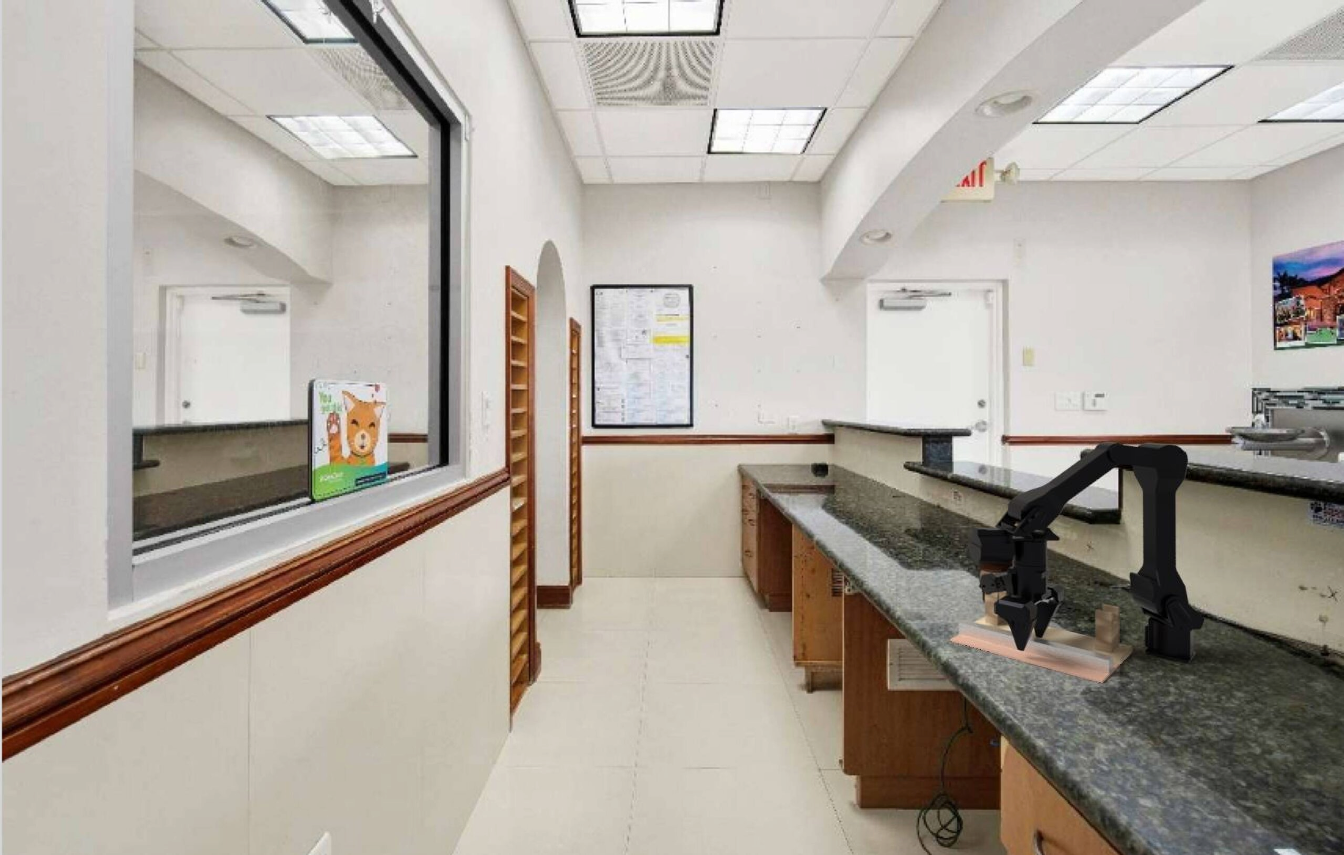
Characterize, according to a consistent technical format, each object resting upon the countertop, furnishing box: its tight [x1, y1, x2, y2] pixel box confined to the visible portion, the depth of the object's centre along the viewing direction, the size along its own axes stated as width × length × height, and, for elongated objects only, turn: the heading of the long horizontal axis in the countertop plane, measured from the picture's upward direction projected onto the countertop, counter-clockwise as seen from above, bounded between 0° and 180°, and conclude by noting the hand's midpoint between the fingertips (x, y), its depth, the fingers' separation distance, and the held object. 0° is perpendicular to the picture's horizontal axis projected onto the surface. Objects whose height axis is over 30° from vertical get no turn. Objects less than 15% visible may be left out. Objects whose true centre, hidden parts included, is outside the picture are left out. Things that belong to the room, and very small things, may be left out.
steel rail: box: [958, 619, 1113, 674], centre depth 118 cm, size 26×2×2 cm, turn 41°
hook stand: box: [973, 591, 1133, 665], centre depth 124 cm, size 26×8×9 cm, turn 41°
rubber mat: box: [949, 633, 1120, 684], centre depth 118 cm, size 26×10×1 cm, turn 41°
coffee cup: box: [978, 560, 1013, 603], centre depth 146 cm, size 9×8×13 cm
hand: (1030, 643), depth 118 cm, fingers open, 9 cm apart
